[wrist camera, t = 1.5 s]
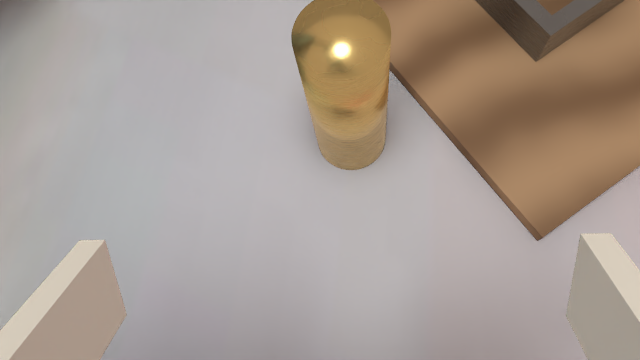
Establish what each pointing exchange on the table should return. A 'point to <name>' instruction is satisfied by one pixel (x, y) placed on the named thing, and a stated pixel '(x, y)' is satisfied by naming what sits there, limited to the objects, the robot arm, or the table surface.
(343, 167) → the cylinder
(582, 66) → the mounting board
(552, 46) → the socket housing
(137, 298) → the table surface
